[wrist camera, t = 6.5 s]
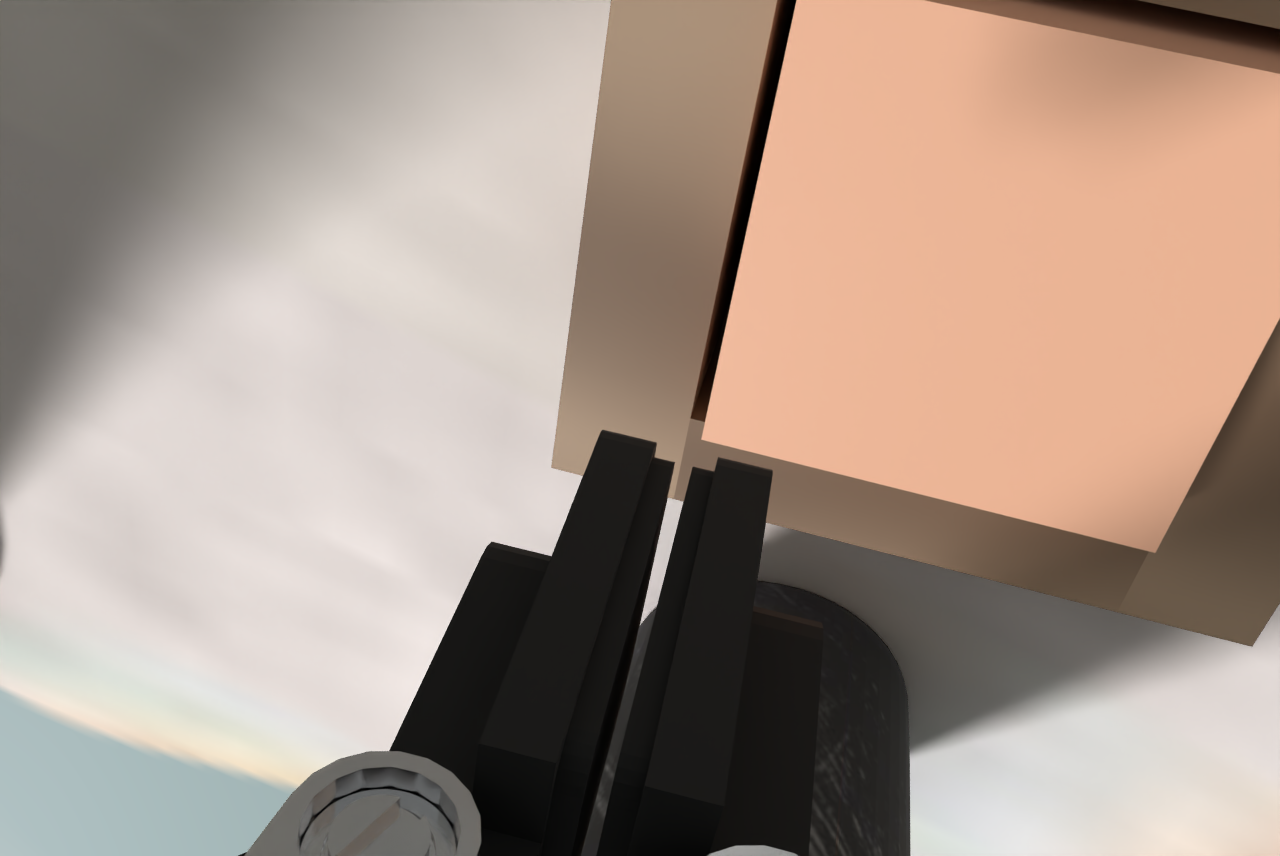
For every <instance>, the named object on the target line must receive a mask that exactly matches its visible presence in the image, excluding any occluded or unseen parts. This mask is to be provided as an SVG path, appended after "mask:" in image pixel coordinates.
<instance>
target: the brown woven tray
mask: <svg viewBox="0 0 1280 856" xmlns="http://www.w3.org/2000/svg"><path fill="white" fill-rule="evenodd" d="M796 1H797V0H611V6H610V13H609V21H608V29H607V37H606V45H605V53H604V60H603V68H602V76H601V84H600V92H599V99H598V107H597V115H596V123H595V131H594V139H593V146H592V154H591V162H590V170H589V178H588V185H587V193H586V201H585V209H584V217H583V225H582V232H581V240H580V248H579V256H578V264H577V271H576V279H575V287H574V295H573V303H572V310H571V318H570V326H569V334H568V342H567V350H566V357H565V365H564V373H563V381H562V389H561V396H560V404H559V412H558V420H557V428H556V436H555V443H554V451H553V459H552V467H551V468H555V469H559V470H562V471H566V472H570V473H574V474H578V475H582V476H583V475H584V472H585V470H586V467H587V465H588V462H589V460H590V457H591V455H592V452H593V449H594V447H595V444H596V442H597V439H598V437H599V435H600V432H601V431H602V430H607V431H611V432H615V433H619V434H624V435H628V436H632V437H636V438H640V439H645V440H649V441H653V442H657V447H656V453H655V458H660V459H664V460H668V461H672V462H675V465H674V470H673V475H672V480H671V484H670V489H669V493H668V498H672V499H676V500H680V501H684V498H685V494H686V490H687V487H688V483H689V479H690V475H691V471H692V467H697V468H702V469H706V470H710V471H714V470H715V466H716V462H717V459H718V457H720V458H725V459H729V460H733V461H737V462H741V463H746V464H750V465H754V466H758V467H762V468H767V469H771V470H773V476H772V483H771V490H770V497H769V504H768V510H767V517H766V523H770V524H774V525H778V526H782V527H786V528H790V529H793V530H797V531H801V532H805V533H809V534H813V535H817V536H821V537H825V538H829V539H833V540H836V541H840V542H844V543H848V544H852V545H856V546H860V547H864V548H868V549H872V550H876V551H880V552H883V553H887V554H891V555H895V556H899V557H903V558H907V559H911V560H915V561H919V562H923V563H927V564H930V565H934V566H938V567H942V568H946V569H950V570H954V571H958V572H962V573H966V574H970V575H974V576H977V577H981V578H985V579H989V580H993V581H997V582H1001V583H1005V584H1009V585H1013V586H1017V587H1021V588H1024V589H1028V590H1032V591H1036V592H1040V593H1044V594H1048V595H1052V596H1056V597H1060V598H1064V599H1067V600H1071V601H1075V602H1079V603H1083V604H1087V605H1091V606H1095V607H1099V608H1103V609H1107V610H1111V611H1114V612H1118V613H1122V614H1126V615H1130V616H1134V617H1138V618H1142V619H1146V620H1150V621H1154V622H1158V623H1161V624H1165V625H1169V626H1173V627H1177V628H1181V629H1185V630H1189V631H1193V632H1197V633H1201V634H1205V635H1208V636H1212V637H1216V638H1220V639H1224V640H1228V641H1232V642H1236V643H1240V644H1244V645H1248V646H1253V644H1254V643H1255V641H1256V640H1257V638H1258V637H1259V635H1260V633H1261V632H1262V630H1263V629H1264V627H1265V625H1266V624H1267V622H1268V621H1269V619H1270V618H1271V616H1272V614H1273V613H1274V611H1275V610H1276V608H1277V606H1278V605H1279V603H1280V319H1279V321H1278V322H1277V324H1276V326H1275V328H1274V330H1273V332H1272V334H1271V336H1270V337H1269V339H1268V341H1267V343H1266V345H1265V347H1264V349H1263V351H1262V353H1261V354H1260V356H1259V358H1258V360H1257V362H1256V364H1255V366H1254V368H1253V370H1252V371H1251V373H1250V375H1249V377H1248V379H1247V381H1246V383H1245V385H1244V387H1243V388H1242V390H1241V392H1240V394H1239V396H1238V398H1237V400H1236V402H1235V403H1234V405H1233V407H1232V409H1231V411H1230V413H1229V415H1228V417H1227V419H1226V420H1225V422H1224V424H1223V426H1222V428H1221V430H1220V432H1219V434H1218V436H1217V437H1216V439H1215V441H1214V443H1213V445H1212V447H1211V449H1210V451H1209V453H1208V454H1207V456H1206V458H1205V460H1204V462H1203V464H1202V466H1201V468H1200V470H1199V471H1198V473H1197V475H1196V477H1195V479H1194V481H1193V483H1192V485H1191V486H1190V488H1189V490H1188V492H1187V494H1186V496H1185V498H1184V500H1183V502H1182V503H1181V505H1180V507H1179V509H1178V511H1177V513H1176V515H1175V517H1174V519H1173V520H1172V522H1171V524H1170V526H1169V528H1168V530H1167V532H1166V534H1165V536H1164V537H1163V539H1162V541H1161V543H1160V545H1159V547H1158V549H1157V551H1156V552H1155V553H1153V552H1149V551H1145V550H1141V549H1137V548H1133V547H1129V546H1125V545H1121V544H1117V543H1113V542H1109V541H1105V540H1101V539H1097V538H1093V537H1089V536H1085V535H1081V534H1077V533H1073V532H1069V531H1065V530H1061V529H1057V528H1053V527H1049V526H1045V525H1041V524H1037V523H1033V522H1029V521H1025V520H1021V519H1017V518H1013V517H1009V516H1005V515H1001V514H997V513H993V512H989V511H985V510H981V509H977V508H973V507H969V506H965V505H961V504H957V503H953V502H949V501H945V500H941V499H937V498H933V497H929V496H925V495H921V494H917V493H913V492H909V491H905V490H901V489H897V488H893V487H889V486H885V485H881V484H877V483H873V482H869V481H865V480H861V479H857V478H853V477H849V476H845V475H841V474H837V473H833V472H829V471H825V470H821V469H817V468H813V467H809V466H805V465H801V464H797V463H793V462H789V461H785V460H781V459H777V458H773V457H769V456H765V455H761V454H757V453H753V452H749V451H745V450H741V449H737V448H733V447H729V446H725V445H721V444H717V443H713V442H709V441H705V440H701V438H702V434H703V429H704V425H705V420H706V415H707V411H708V406H709V401H710V397H711V392H712V388H713V383H714V378H715V374H716V369H717V365H718V360H719V355H720V351H721V346H722V342H723V337H724V332H725V328H726V323H727V319H728V314H729V309H730V305H731V300H732V296H733V291H734V286H735V282H736V277H737V272H738V268H739V263H740V259H741V254H742V249H743V245H744V240H745V236H746V231H747V226H748V222H749V217H750V213H751V208H752V203H753V199H754V194H755V190H756V185H757V180H758V176H759V171H760V167H761V162H762V157H763V153H764V148H765V143H766V139H767V134H768V130H769V125H770V120H771V116H772V111H773V107H774V102H775V97H776V93H777V88H778V84H779V79H780V74H781V70H782V65H783V61H784V56H785V51H786V47H787V42H788V38H789V33H790V28H791V24H792V19H793V14H794V10H795V5H796ZM1140 1H1144V2H1149V3H1154V4H1159V5H1164V6H1169V7H1174V8H1179V9H1184V10H1189V11H1194V12H1199V13H1204V14H1208V15H1213V16H1218V17H1223V18H1228V19H1233V20H1238V21H1243V22H1248V23H1253V24H1258V25H1263V26H1267V27H1272V28H1277V29H1280V0H1140Z"/></svg>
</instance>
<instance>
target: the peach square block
mask: <svg viewBox="0 0 1280 856" xmlns="http://www.w3.org/2000/svg"><path fill="white" fill-rule="evenodd" d="M1279 319H1280V29H1277V28H1272V27H1267V26H1263V25H1258V24H1253V23H1248V22H1243V21H1238V20H1233V19H1228V18H1223V17H1218V16H1213V15H1208V14H1204V13H1199V12H1194V11H1189V10H1184V9H1179V8H1174V7H1169V6H1164V5H1159V4H1154V3H1149V2H1144V1H1140V0H797V1H796V5H795V10H794V14H793V19H792V24H791V28H790V33H789V38H788V42H787V47H786V51H785V56H784V61H783V65H782V70H781V74H780V79H779V84H778V88H777V93H776V97H775V102H774V107H773V111H772V116H771V120H770V125H769V130H768V134H767V139H766V143H765V148H764V153H763V157H762V162H761V167H760V171H759V176H758V180H757V185H756V190H755V194H754V199H753V203H752V208H751V213H750V217H749V222H748V226H747V231H746V236H745V240H744V245H743V249H742V254H741V259H740V263H739V268H738V272H737V277H736V282H735V286H734V291H733V296H732V300H731V305H730V309H729V314H728V319H727V323H726V328H725V332H724V337H723V342H722V346H721V351H720V355H719V360H718V365H717V369H716V374H715V378H714V383H713V388H712V392H711V397H710V401H709V406H708V411H707V415H706V420H705V425H704V429H703V434H702V438H701V440H705V441H709V442H713V443H717V444H721V445H725V446H729V447H733V448H737V449H741V450H745V451H749V452H753V453H757V454H761V455H765V456H769V457H773V458H777V459H781V460H785V461H789V462H793V463H797V464H801V465H805V466H809V467H813V468H817V469H821V470H825V471H829V472H833V473H837V474H841V475H845V476H849V477H853V478H857V479H861V480H865V481H869V482H873V483H877V484H881V485H885V486H889V487H893V488H897V489H901V490H905V491H909V492H913V493H917V494H921V495H925V496H929V497H933V498H937V499H941V500H945V501H949V502H953V503H957V504H961V505H965V506H969V507H973V508H977V509H981V510H985V511H989V512H993V513H997V514H1001V515H1005V516H1009V517H1013V518H1017V519H1021V520H1025V521H1029V522H1033V523H1037V524H1041V525H1045V526H1049V527H1053V528H1057V529H1061V530H1065V531H1069V532H1073V533H1077V534H1081V535H1085V536H1089V537H1093V538H1097V539H1101V540H1105V541H1109V542H1113V543H1117V544H1121V545H1125V546H1129V547H1133V548H1137V549H1141V550H1145V551H1149V552H1153V553H1155V552H1156V551H1157V549H1158V547H1159V545H1160V543H1161V541H1162V539H1163V537H1164V536H1165V534H1166V532H1167V530H1168V528H1169V526H1170V524H1171V522H1172V520H1173V519H1174V517H1175V515H1176V513H1177V511H1178V509H1179V507H1180V505H1181V503H1182V502H1183V500H1184V498H1185V496H1186V494H1187V492H1188V490H1189V488H1190V486H1191V485H1192V483H1193V481H1194V479H1195V477H1196V475H1197V473H1198V471H1199V470H1200V468H1201V466H1202V464H1203V462H1204V460H1205V458H1206V456H1207V454H1208V453H1209V451H1210V449H1211V447H1212V445H1213V443H1214V441H1215V439H1216V437H1217V436H1218V434H1219V432H1220V430H1221V428H1222V426H1223V424H1224V422H1225V420H1226V419H1227V417H1228V415H1229V413H1230V411H1231V409H1232V407H1233V405H1234V403H1235V402H1236V400H1237V398H1238V396H1239V394H1240V392H1241V390H1242V388H1243V387H1244V385H1245V383H1246V381H1247V379H1248V377H1249V375H1250V373H1251V371H1252V370H1253V368H1254V366H1255V364H1256V362H1257V360H1258V358H1259V356H1260V354H1261V353H1262V351H1263V349H1264V347H1265V345H1266V343H1267V341H1268V339H1269V337H1270V336H1271V334H1272V332H1273V330H1274V328H1275V326H1276V324H1277V322H1278V321H1279Z"/></svg>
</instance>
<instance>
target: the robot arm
mask: <svg viewBox="0 0 1280 856" xmlns="http://www.w3.org/2000/svg"><path fill="white" fill-rule="evenodd" d="M656 447H657V442H653V441H649V440H645V439H640V438H636V437H632V436H628V435H624V434H619V433H615V432H611V431H607V430H602V431H601V432H600V435H599V437H598V439H597V442H596V444H595V447H594V449H593V452H592V455H591V457H590V460H589V462H588V465H587V467H586V470H585V472H584V475H583V478H582V480H581V483H580V485H579V488H578V490H577V493H576V495H575V498H574V501H573V503H572V506H571V508H570V511H569V513H568V516H567V518H566V521H565V524H564V526H563V529H562V531H561V534H560V536H559V539H558V541H557V544H556V547H555V549H554V552H553V554H552V556H548V555H544V554H540V553H536V552H532V551H528V550H523V549H519V548H515V547H511V546H507V545H503V544H499V543H495V542H491V543H490V544H489V545H488V546H487V547H486V549H485V551H484V553H483V555H482V556H481V558H480V560H479V563H478V565H477V567H476V569H475V571H474V573H473V575H472V577H471V579H470V582H469V584H468V586H467V588H466V590H465V592H464V594H463V596H462V598H461V601H460V603H459V605H458V607H457V609H456V611H455V613H454V615H453V617H452V620H451V622H450V624H449V626H448V628H447V630H446V632H445V634H444V637H443V639H442V641H441V643H440V645H439V647H438V649H437V651H436V653H435V656H434V658H433V660H432V662H431V664H430V666H429V668H428V670H427V672H426V675H425V677H424V679H423V681H422V683H421V685H420V687H419V689H418V691H417V694H416V696H415V698H414V700H413V702H412V704H411V706H410V708H409V710H408V713H407V715H406V717H405V719H404V721H403V723H402V725H401V727H400V729H399V732H398V734H397V736H396V738H395V740H394V742H393V744H392V746H391V748H390V751H369V752H365V753H361V754H357V755H353V756H349V757H345V758H341V759H338V760H336V761H335V762H333V763H331V764H329V765H327V766H325V767H323V768H322V769H320V770H318V771H316V772H314V773H312V774H311V775H310V776H309V777H308V778H307V779H306V780H305V781H304V782H303V783H302V784H301V785H300V786H299V787H298V788H297V789H296V790H295V791H294V792H293V793H292V794H291V795H290V796H289V798H288V799H287V800H286V802H285V803H284V804H283V806H282V807H281V808H280V810H279V811H278V812H277V814H276V815H275V816H274V817H273V819H272V820H271V821H270V823H269V824H268V825H267V827H266V828H265V829H264V831H263V832H262V833H261V834H260V836H259V837H258V838H257V840H256V841H255V842H254V844H253V845H252V846H251V848H250V849H249V850H248V852H246V853H244V854H241V855H239V856H581V854H582V851H583V847H584V843H585V839H586V835H587V832H588V828H589V824H590V820H591V817H592V813H593V809H594V805H595V801H596V798H597V794H598V790H599V786H600V783H601V779H602V775H603V771H604V767H605V764H606V760H607V756H608V752H609V748H610V745H611V741H612V737H613V733H614V730H615V726H616V722H617V718H618V714H619V711H620V707H621V703H622V699H623V695H624V692H625V688H626V684H627V679H628V675H629V671H630V667H631V662H632V658H633V653H634V649H635V644H636V640H637V635H638V631H639V626H640V621H641V617H642V612H643V608H644V603H645V599H646V594H647V589H648V585H649V580H650V576H651V571H652V567H653V562H654V557H655V553H656V548H657V544H658V539H659V535H660V530H661V525H662V521H663V516H664V512H665V507H666V503H667V498H668V493H669V489H670V484H671V480H672V475H673V470H674V465H675V462H672V461H668V460H664V459H660V458H655V453H656ZM772 476H773V470H771V469H767V468H762V467H758V466H754V465H750V464H746V463H741V462H737V461H733V460H729V459H725V458H720V457H718V459H717V462H716V466H715V470H714V471H710V470H706V469H702V468H697V467H692V471H691V475H690V479H689V483H688V487H687V490H686V494H685V498H684V502H683V506H682V510H681V514H680V518H679V522H678V526H677V530H676V534H675V538H674V542H673V546H672V550H671V554H670V558H669V562H668V565H667V569H666V573H665V577H664V581H663V585H662V589H661V593H660V597H659V601H658V605H657V609H656V613H655V617H654V621H653V625H652V629H651V633H650V637H649V640H648V644H647V648H646V652H645V656H644V660H643V664H642V668H641V672H640V676H639V680H638V684H637V688H636V692H635V696H634V700H633V704H632V708H631V712H630V715H629V719H628V723H627V727H626V731H625V735H624V739H623V743H622V747H621V751H620V755H619V759H618V763H617V767H616V772H615V776H614V780H613V784H612V788H611V793H610V797H609V801H608V806H607V810H606V815H605V819H604V824H603V828H602V833H601V837H600V841H599V846H598V850H597V855H596V856H809V844H810V829H811V814H812V800H813V785H814V770H815V755H816V740H817V726H818V711H819V696H820V681H821V666H822V651H823V625H822V623H821V622H817V621H813V620H809V619H805V618H801V617H797V616H793V615H788V614H784V613H780V612H776V611H772V610H768V609H764V608H760V607H756V606H754V599H755V592H756V585H757V578H758V572H759V565H760V558H761V551H762V544H763V538H764V531H765V524H766V517H767V510H768V504H769V497H770V490H771V483H772Z"/></svg>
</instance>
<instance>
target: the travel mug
mask: <svg viewBox="0 0 1280 856" xmlns="http://www.w3.org/2000/svg"><path fill="white" fill-rule="evenodd" d="M754 606H756V607H760V608H764V609H768V610H772V611H776V612H780V613H784V614H788V615H793V616H797V617H801V618H805V619H809V620H813V621H817V622H821V623H822V625H823V651H822V666H821V681H820V696H819V711H818V726H817V740H816V755H815V770H814V785H813V800H812V814H811V829H810V844H809V856H910V755H909V716H908V699H907V692H906V687H905V683H904V679H903V677H902V674H901V672H900V669H899V667H898V664H897V662H896V660H895V659H894V657H893V655H892V654H891V652H890V650H889V649H888V647H887V646H886V645H885V644H884V642H883V641H882V640H881V639H880V637H879V636H878V635H877V634H876V633H875V632H874V631H873V630H872V629H870V628H869V627H868V626H867V625H866V624H865V623H864V622H862V621H861V620H860V619H858V618H857V617H856V616H855V615H853V614H852V613H850V612H849V611H847V610H845V609H844V608H842V607H840V606H839V605H837V604H835V603H833V602H831V601H829V600H827V599H824V598H822V597H820V596H818V595H815V594H812V593H809V592H806V591H804V590H801V589H797V588H793V587H789V586H785V585H780V584H774V583H766V582H757V585H756V592H755V599H754ZM655 613H656V609H655V610H654V611H653V612H652V613H651V614H650V615H649V616H648V617H647V618H646V619H645V620H644V621H643V623H642V624H641V625H640V626H639V631H638V635H637V640H636V644H635V649H634V653H633V658H632V662H631V667H630V671H629V675H628V679H627V684H626V688H625V692H624V695H623V699H622V703H621V707H620V711H619V714H618V718H617V722H616V726H615V730H614V733H613V737H612V741H611V745H610V748H609V752H608V756H607V760H606V764H605V767H604V771H603V775H602V779H601V783H600V786H599V790H598V794H597V798H596V801H595V805H594V809H593V813H592V817H591V820H590V824H589V828H588V832H587V835H586V839H585V843H584V847H583V851H582V854H581V856H596V855H597V850H598V846H599V841H600V837H601V833H602V828H603V824H604V819H605V815H606V810H607V806H608V801H609V797H610V793H611V788H612V784H613V780H614V776H615V772H616V767H617V763H618V759H619V755H620V751H621V747H622V743H623V739H624V735H625V731H626V727H627V723H628V719H629V715H630V712H631V708H632V704H633V700H634V696H635V692H636V688H637V684H638V680H639V676H640V672H641V668H642V664H643V660H644V656H645V652H646V648H647V644H648V640H649V637H650V633H651V629H652V625H653V621H654V617H655Z"/></svg>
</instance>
